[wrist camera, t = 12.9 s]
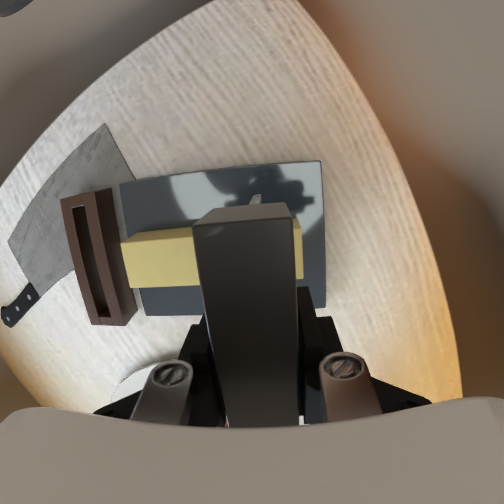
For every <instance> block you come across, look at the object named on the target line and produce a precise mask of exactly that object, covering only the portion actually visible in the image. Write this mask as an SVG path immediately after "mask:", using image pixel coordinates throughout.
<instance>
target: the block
mask: <svg viewBox="0 0 504 504" xmlns="http://www.w3.org/2000/svg"><path fill="white" fill-rule="evenodd" d="M60 204H61V209H62V215H63V220H64V225H65V230H66V235H67V240H68V244H69V248H70V253H71V257H72V261H73V265H74V269H75V272H76V276H77V280H78V283H79V287H80V290H81V294H82V297H83V300H84V303H85V306H86V310H87V313H88V316H89V319H90V322H91V324H92V325H109V326H126V324H127V323H128V322H129V321H130V319H131V318H132V317H133V316H134V314H135V313H136V312H137V311H138V309H137V306H136V302H135V298H134V294H133V290H132V288H130V284H129V280H128V276H127V272H126V268H125V263H124V259H123V254H122V249H121V241H120V235H119V230H118V225H117V219H116V213H115V207H114V201H113V194H112V188H106V189H101V190H96V191H91V192H86V193H82V194H77V195H74V196H70V197H67V198H63V199H60Z"/></svg>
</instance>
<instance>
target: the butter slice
mask: <svg viewBox="0 0 504 504" xmlns="http://www.w3.org/2000/svg"><path fill="white" fill-rule="evenodd" d="M293 230H294V247H295V265H296V279H303V278H304V273H303V249H302V229H301V226H300V224H299V221H298V219H297V218H293Z"/></svg>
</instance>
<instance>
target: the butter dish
mask: <svg viewBox="0 0 504 504" xmlns="http://www.w3.org/2000/svg"><path fill="white" fill-rule="evenodd" d="M119 187H120V194H121V201H122V207H123V213H124V219H125V225H126V230H127V235H128V238H130V237H131V236H133V235H134V234H136V233H138V232H147V231H156V230H166V229H176V228H186V227H192V225H194V224H195V223H196V222H197V221H198V220H200V219H201V218H202V217H203V216H204V215H206V214H207V213H208V212H209V211H210V210H212V209H213V208H221V207H231V206H242V205H249V203H250V201H251V199H252V197H253V195H258V194H261V198H262V204H265V203H278V202H285V203H286V205H287V207H288V210H289V212H290V214H291V217H292V219H293V218H297V219H298V221H299V224H300V226H301V229H302V249H303V273H304V278H303V279H296V285H297V287H301V286H308V287H309V291H310V294H311V298H312V302H313V305H314V309H316V308H325V307H326V256H325V222H324V200H323V182H322V167H321V161H300V162H284V163H271V164H259V165H248V166H238V167H228V168H219V169H211V170H203V171H195V172H187V173H180V174H173V175H167V176H160V177H154V178H148V179H142V180H136V181H131V182H125V183H120V184H119ZM139 291H140V295H141V299H142V303H143V306H144V310H145V314H146V316H179V315H203V313H204V306H203V300H202V294H201V288H200V285H191V286H169V287H144V288H139Z"/></svg>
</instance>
